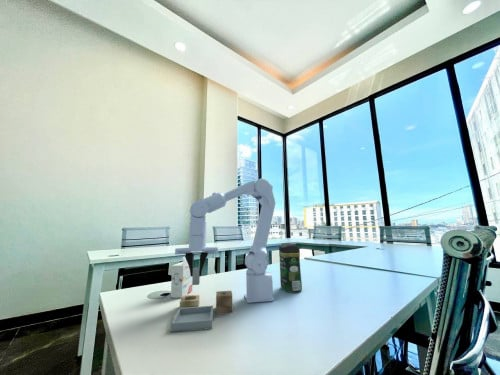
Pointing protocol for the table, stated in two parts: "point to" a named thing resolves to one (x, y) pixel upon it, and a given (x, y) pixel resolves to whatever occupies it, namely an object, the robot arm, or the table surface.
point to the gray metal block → (195, 276)
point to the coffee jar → (290, 267)
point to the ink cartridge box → (181, 279)
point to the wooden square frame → (189, 301)
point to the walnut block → (223, 302)
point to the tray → (193, 319)
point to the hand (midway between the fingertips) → (196, 275)
